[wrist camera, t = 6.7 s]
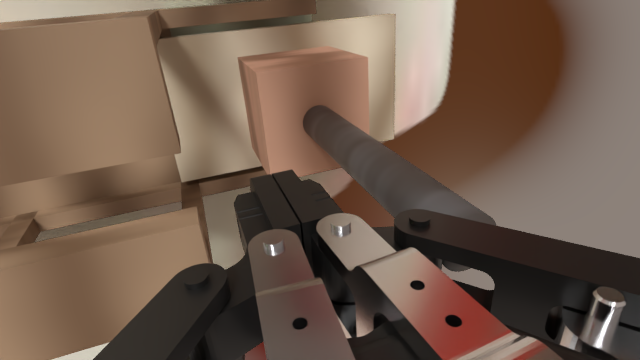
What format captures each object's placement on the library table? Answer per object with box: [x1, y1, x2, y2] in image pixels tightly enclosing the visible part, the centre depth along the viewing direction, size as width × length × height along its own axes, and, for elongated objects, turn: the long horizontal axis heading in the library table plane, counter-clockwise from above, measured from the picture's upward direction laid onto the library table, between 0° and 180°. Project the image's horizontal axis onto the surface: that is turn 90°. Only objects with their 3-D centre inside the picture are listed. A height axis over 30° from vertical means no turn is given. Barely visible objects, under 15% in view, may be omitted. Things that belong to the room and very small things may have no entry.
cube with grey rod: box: [157, 14, 496, 271], centre depth 18 cm, size 16×9×19 cm, turn 95°
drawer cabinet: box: [0, 0, 316, 360], centre depth 19 cm, size 30×12×14 cm, turn 95°
